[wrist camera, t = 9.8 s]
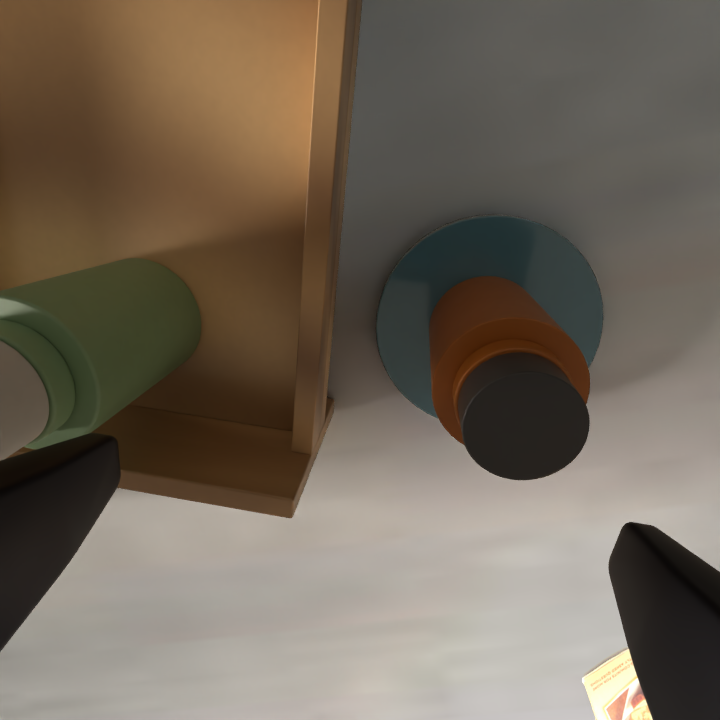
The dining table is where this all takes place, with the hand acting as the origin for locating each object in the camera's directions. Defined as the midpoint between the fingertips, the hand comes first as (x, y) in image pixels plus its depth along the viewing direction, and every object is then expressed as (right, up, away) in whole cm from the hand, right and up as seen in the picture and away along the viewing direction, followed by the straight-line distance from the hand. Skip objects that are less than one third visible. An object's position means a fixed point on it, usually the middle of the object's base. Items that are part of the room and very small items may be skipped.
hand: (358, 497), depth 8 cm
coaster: (+5, +4, +11) cm, 13 cm away
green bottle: (-8, +4, +9) cm, 13 cm away
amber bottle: (+5, +4, +11) cm, 12 cm away
